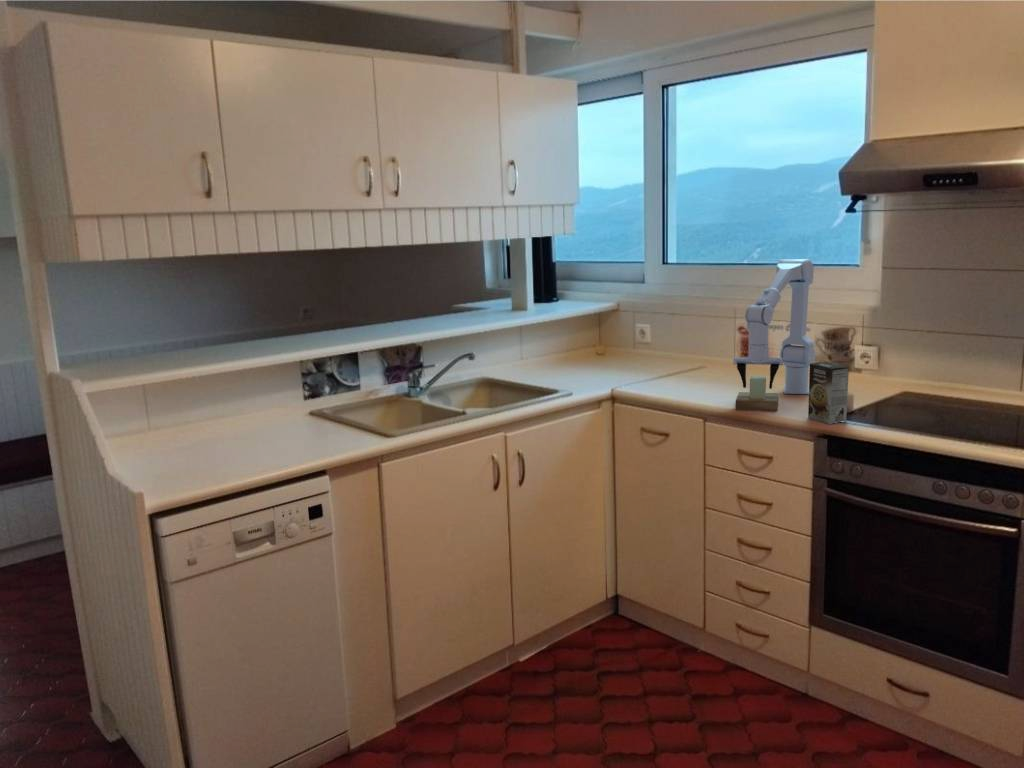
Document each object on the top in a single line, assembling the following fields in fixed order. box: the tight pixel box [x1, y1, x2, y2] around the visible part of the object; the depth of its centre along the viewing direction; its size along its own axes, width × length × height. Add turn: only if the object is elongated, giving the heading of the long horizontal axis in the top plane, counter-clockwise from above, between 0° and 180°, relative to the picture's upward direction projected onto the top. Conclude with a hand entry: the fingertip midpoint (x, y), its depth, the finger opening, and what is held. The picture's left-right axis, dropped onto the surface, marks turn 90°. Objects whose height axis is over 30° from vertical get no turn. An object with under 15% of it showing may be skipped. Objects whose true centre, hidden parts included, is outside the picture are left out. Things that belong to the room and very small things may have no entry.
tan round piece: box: [847, 392, 855, 413], centre depth 243 cm, size 5×5×5 cm
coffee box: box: [807, 361, 850, 425], centre depth 232 cm, size 9×6×16 cm
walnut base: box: [735, 391, 780, 412], centre depth 253 cm, size 12×12×3 cm
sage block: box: [749, 375, 767, 399], centre depth 252 cm, size 4×4×6 cm
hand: (757, 387), depth 252 cm, fingers open, 7 cm apart
